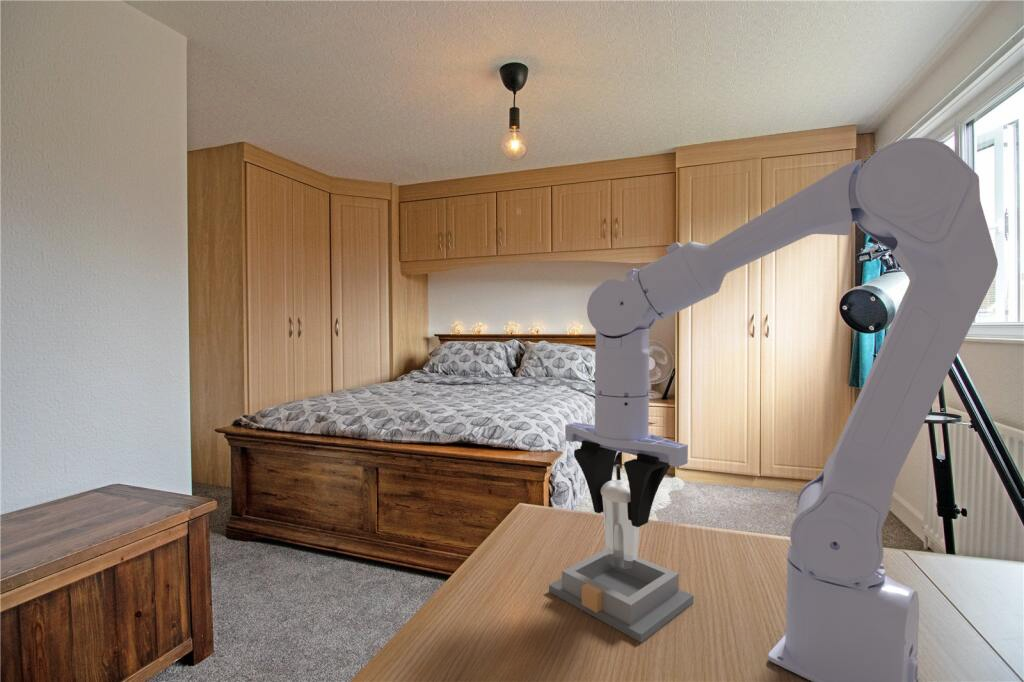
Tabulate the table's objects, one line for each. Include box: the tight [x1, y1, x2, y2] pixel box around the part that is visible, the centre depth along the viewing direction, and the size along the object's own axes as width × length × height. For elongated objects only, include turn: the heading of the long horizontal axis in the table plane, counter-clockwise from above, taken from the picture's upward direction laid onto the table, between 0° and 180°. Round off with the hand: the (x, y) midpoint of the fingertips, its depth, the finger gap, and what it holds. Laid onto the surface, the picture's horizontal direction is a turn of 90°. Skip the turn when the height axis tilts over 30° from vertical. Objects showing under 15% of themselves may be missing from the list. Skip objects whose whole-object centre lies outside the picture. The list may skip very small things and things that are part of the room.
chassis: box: [548, 548, 695, 644], centre depth 55 cm, size 12×10×3 cm
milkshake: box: [601, 464, 641, 569], centre depth 55 cm, size 4×5×10 cm
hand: (620, 517), depth 55 cm, fingers closed on milkshake, 4 cm apart
